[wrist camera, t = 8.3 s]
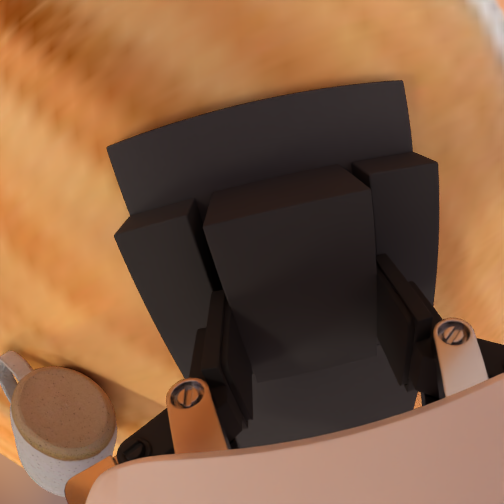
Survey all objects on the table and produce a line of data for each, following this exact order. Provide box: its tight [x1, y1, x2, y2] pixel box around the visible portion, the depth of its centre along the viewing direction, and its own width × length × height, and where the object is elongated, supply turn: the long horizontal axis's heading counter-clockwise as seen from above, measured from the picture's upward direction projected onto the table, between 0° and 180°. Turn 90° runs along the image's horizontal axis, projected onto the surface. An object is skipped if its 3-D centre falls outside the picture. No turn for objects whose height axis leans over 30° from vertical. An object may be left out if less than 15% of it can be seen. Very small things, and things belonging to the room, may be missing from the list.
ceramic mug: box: [0, 351, 117, 497], centre depth 16 cm, size 11×8×8 cm
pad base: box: [107, 80, 439, 448], centre depth 15 cm, size 22×12×3 cm, turn 14°
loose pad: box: [203, 164, 377, 383], centre depth 12 cm, size 7×5×4 cm
